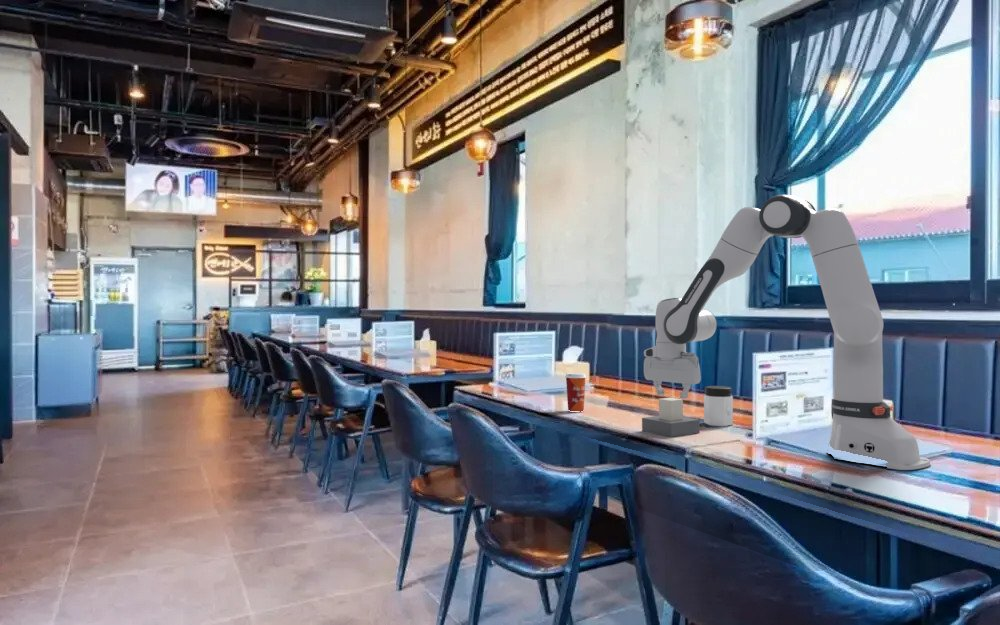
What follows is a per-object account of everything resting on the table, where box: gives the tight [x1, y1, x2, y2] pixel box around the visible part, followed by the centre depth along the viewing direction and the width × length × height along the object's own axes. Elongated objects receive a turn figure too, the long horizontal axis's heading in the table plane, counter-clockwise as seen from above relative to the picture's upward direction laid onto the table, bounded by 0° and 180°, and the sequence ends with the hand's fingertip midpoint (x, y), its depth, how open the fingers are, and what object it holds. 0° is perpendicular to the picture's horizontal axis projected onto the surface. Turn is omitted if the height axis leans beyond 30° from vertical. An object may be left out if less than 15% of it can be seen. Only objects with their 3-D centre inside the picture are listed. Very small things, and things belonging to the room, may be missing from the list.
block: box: [658, 397, 684, 421], centre depth 199 cm, size 5×5×6 cm
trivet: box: [641, 415, 701, 438], centre depth 199 cm, size 12×12×4 cm
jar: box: [703, 385, 734, 427], centre depth 212 cm, size 9×8×12 cm
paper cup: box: [565, 372, 587, 412], centre depth 239 cm, size 8×8×14 cm
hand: (672, 396), depth 199 cm, fingers open, 8 cm apart
